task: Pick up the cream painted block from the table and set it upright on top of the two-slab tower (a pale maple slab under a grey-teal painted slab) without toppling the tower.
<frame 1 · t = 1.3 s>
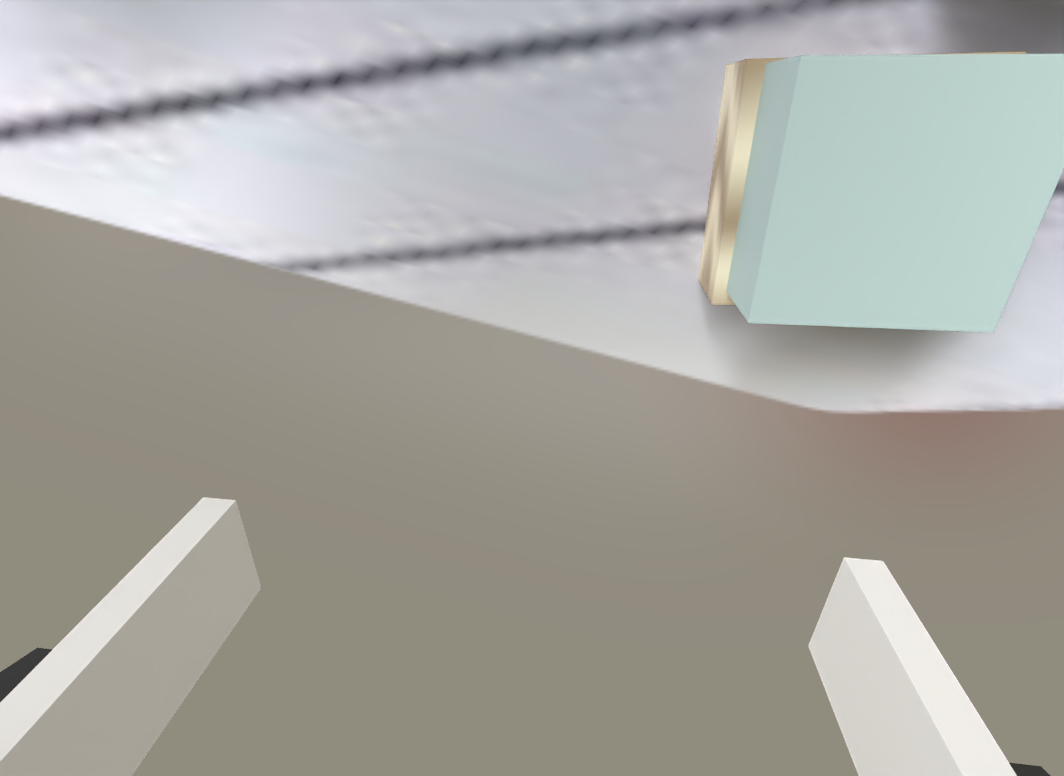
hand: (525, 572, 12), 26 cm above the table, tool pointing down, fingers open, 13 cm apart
tower base slab: (814, 180, 32), on the table, touching tower top slab
tower top slab: (856, 189, 27), point 5 cm above the table, touching tower base slab
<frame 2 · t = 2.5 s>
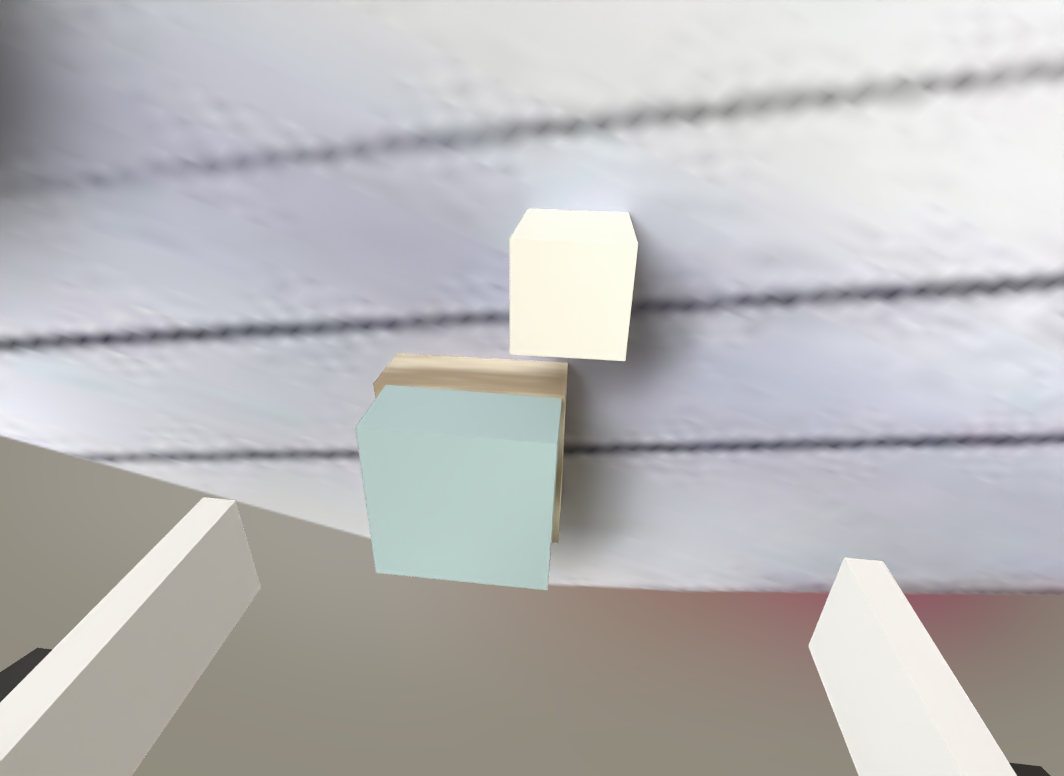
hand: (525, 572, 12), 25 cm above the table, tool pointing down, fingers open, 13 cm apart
tower base slab: (484, 428, 41), on the table
cream block: (575, 260, 34), on the table
tower top slab: (474, 463, 36), point 5 cm above the table
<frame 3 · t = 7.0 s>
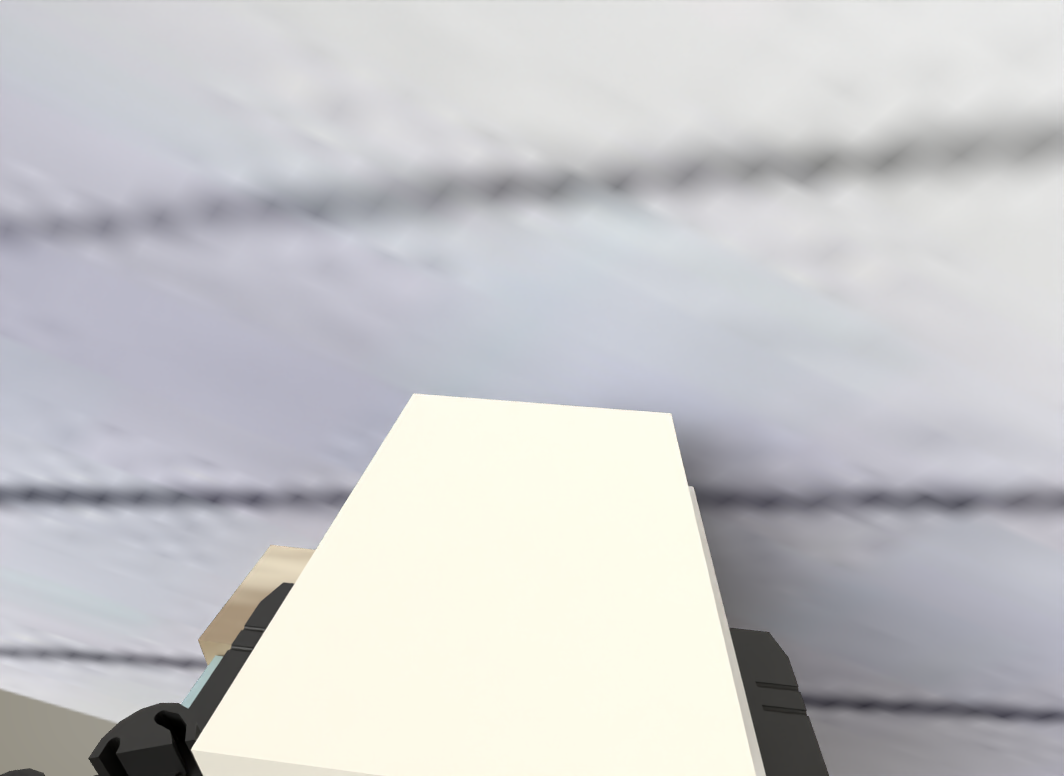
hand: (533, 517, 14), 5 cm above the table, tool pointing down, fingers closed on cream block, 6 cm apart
tower base slab: (421, 649, 25), on the table, touching tower top slab
cream block: (535, 504, 14), point 5 cm above the table, touching gripper
tower top slab: (382, 765, 21), point 5 cm above the table, touching tower base slab
when the fingers open (11 cm above the table, at t = 12.1 s): cream block drops 1 cm, resting on tower top slab.
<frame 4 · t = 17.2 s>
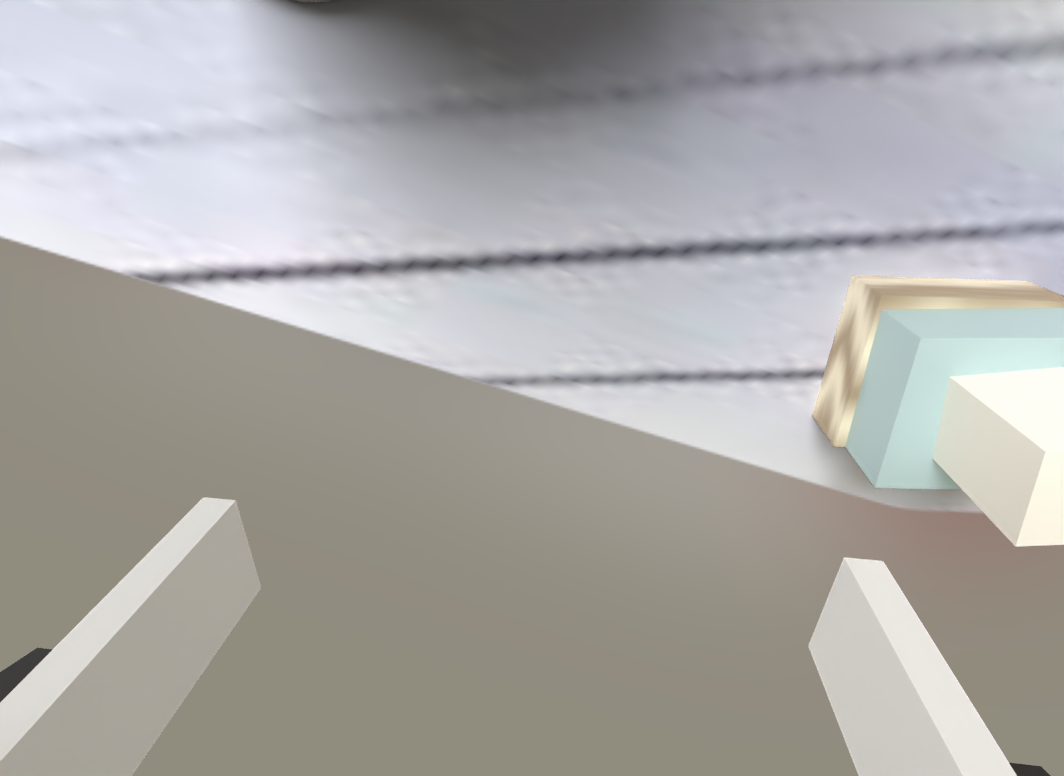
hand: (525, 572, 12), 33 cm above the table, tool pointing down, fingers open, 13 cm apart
tower base slab: (909, 351, 43), on the table, touching tower top slab
cream block: (994, 415, 34), point 10 cm above the table, touching tower top slab
tower top slab: (945, 382, 38), point 5 cm above the table, touching cream block, tower base slab
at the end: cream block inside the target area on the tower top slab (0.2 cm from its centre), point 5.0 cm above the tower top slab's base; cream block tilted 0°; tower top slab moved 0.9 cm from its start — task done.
